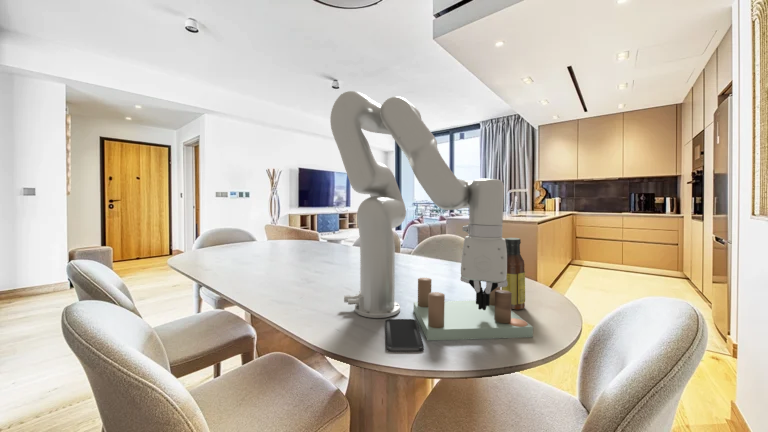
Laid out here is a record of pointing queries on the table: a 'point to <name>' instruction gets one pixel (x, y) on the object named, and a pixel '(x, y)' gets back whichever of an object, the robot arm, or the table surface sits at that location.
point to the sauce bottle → (515, 274)
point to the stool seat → (463, 318)
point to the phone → (403, 336)
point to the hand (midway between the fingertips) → (482, 307)
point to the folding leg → (502, 306)
